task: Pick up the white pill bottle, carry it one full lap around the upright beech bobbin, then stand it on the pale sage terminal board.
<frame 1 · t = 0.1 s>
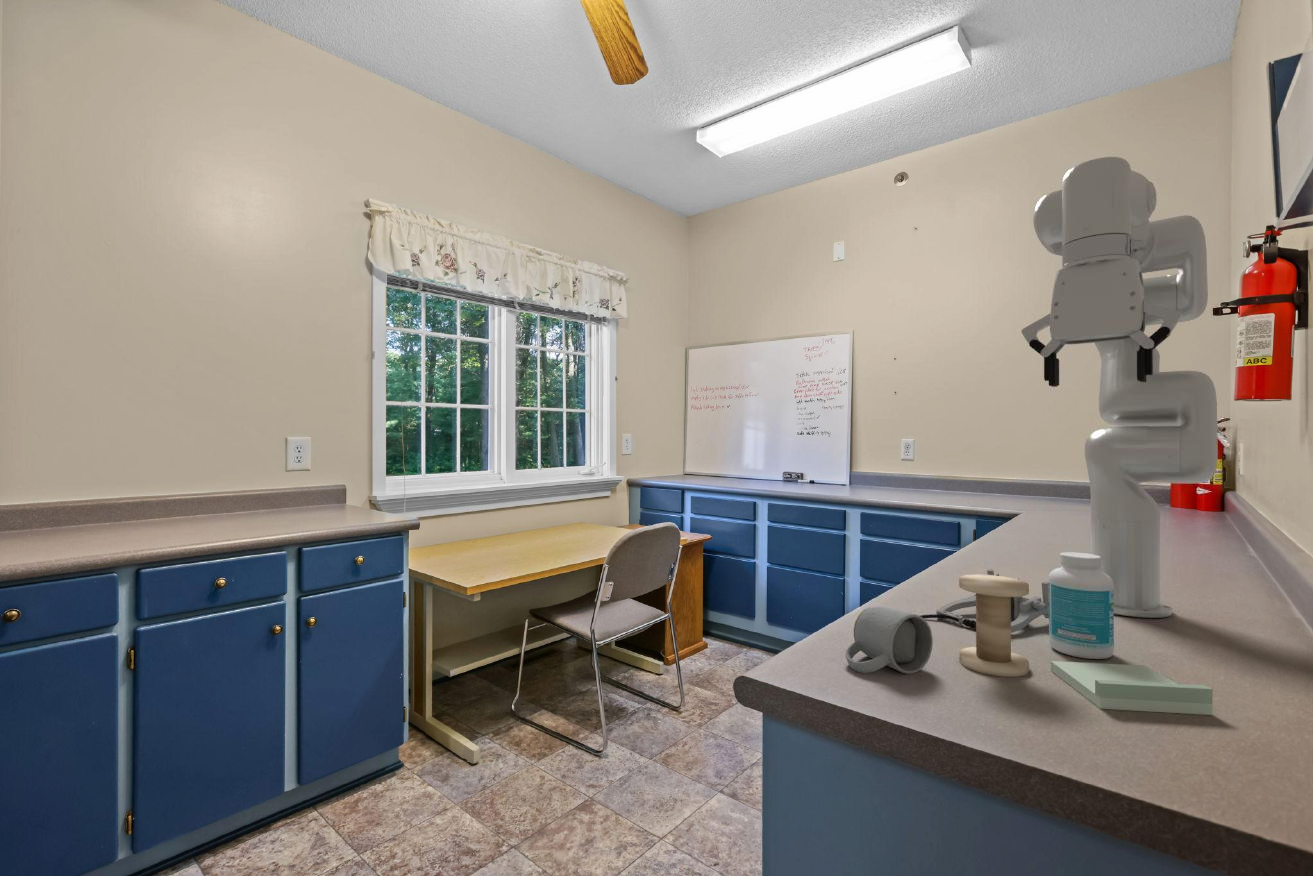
hand: (1096, 383, 81), 37 cm above the counter, fingers open, 9 cm apart
bike brake: (985, 625, 97), on the counter
bobbin: (993, 664, 79), on the counter
ceramic mug: (884, 667, 79), on the counter
terminal board: (1124, 690, 71), on the counter
pill bottle: (1080, 653, 84), on the counter
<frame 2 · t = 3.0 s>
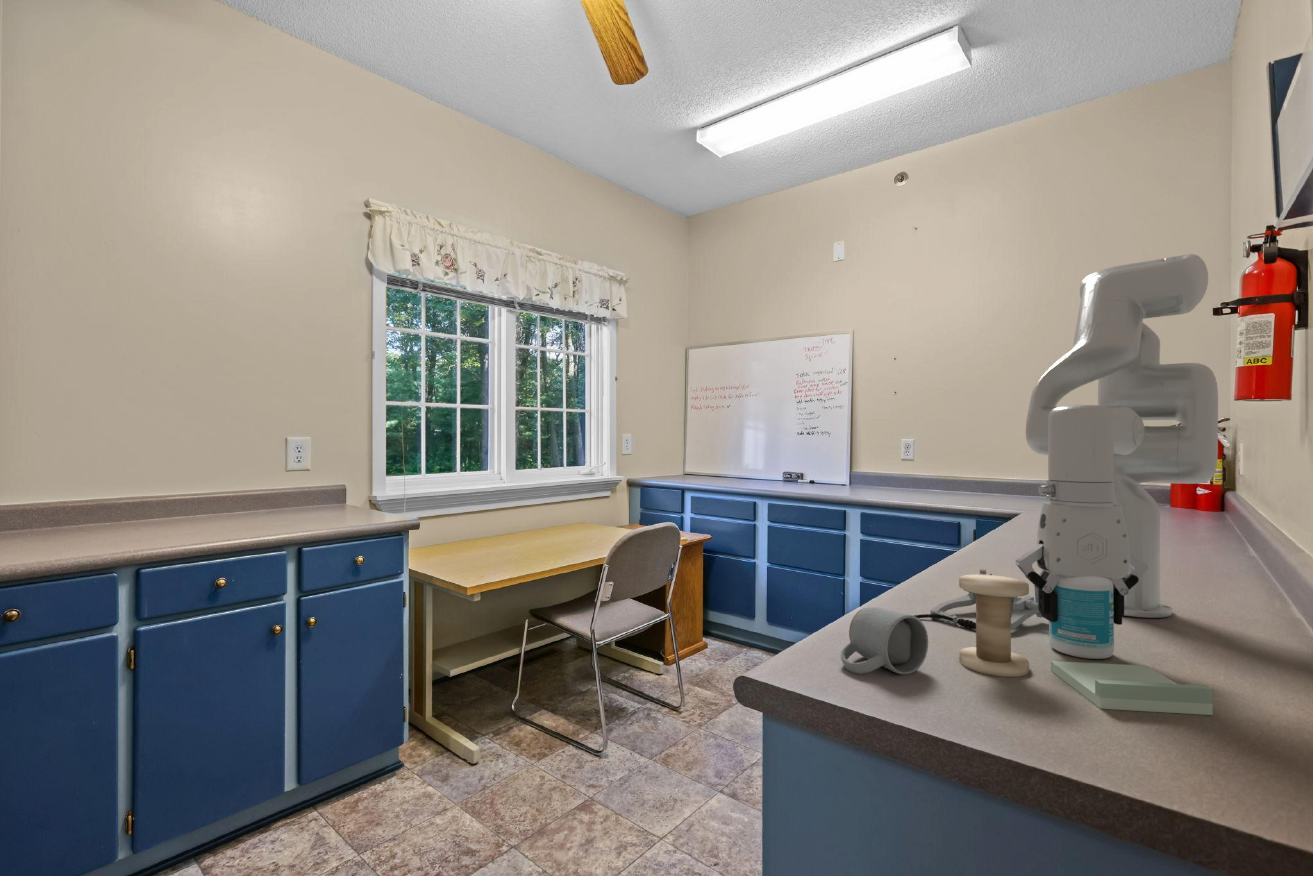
hand: (1080, 619, 84), 4 cm above the counter, fingers closed on pill bottle, 7 cm apart
pill bottle: (1080, 652, 84), on the counter, touching gripper
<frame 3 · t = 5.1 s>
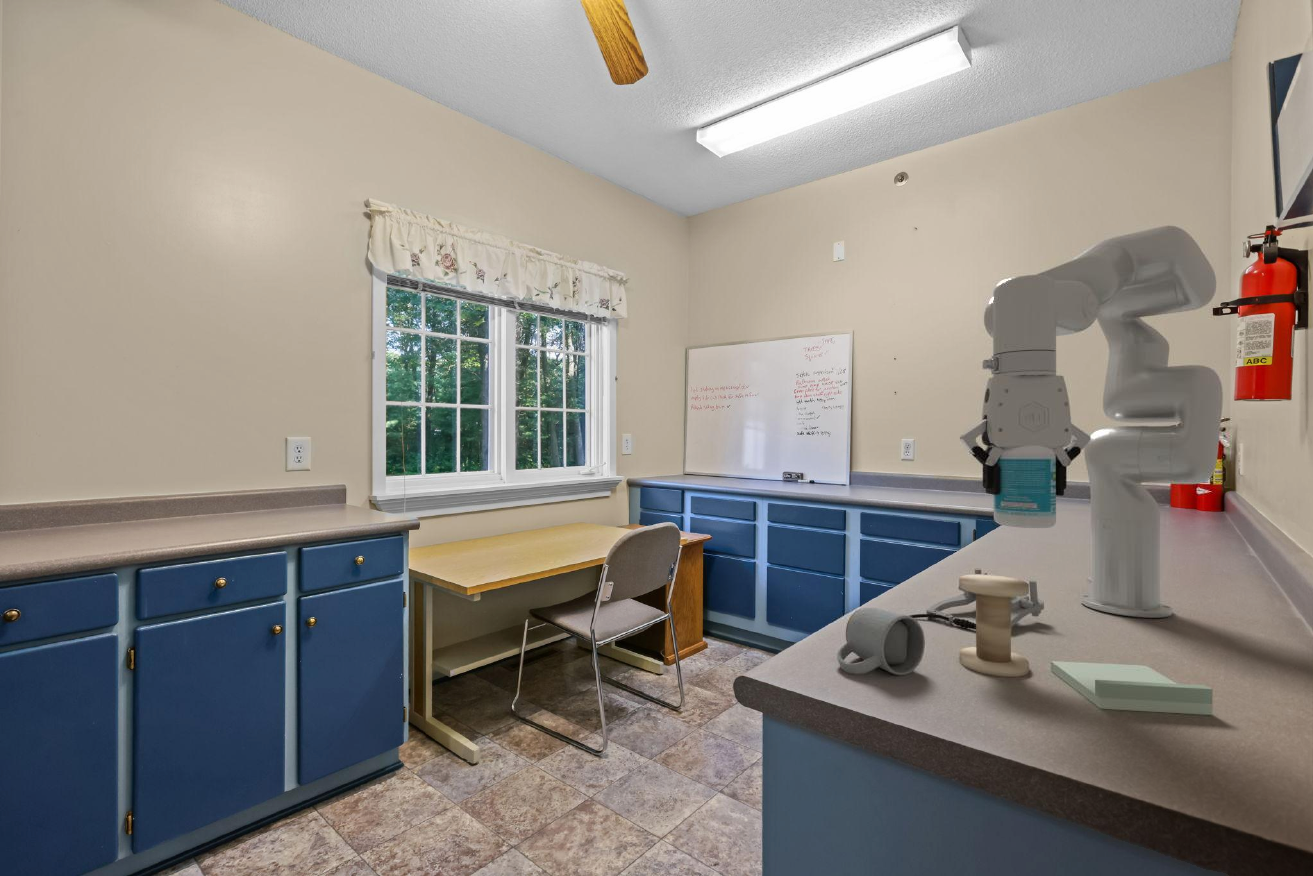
hand: (1023, 493, 84), 22 cm above the counter, fingers closed on pill bottle, 7 cm apart
pill bottle: (1024, 526, 84), point 17 cm above the counter, touching gripper
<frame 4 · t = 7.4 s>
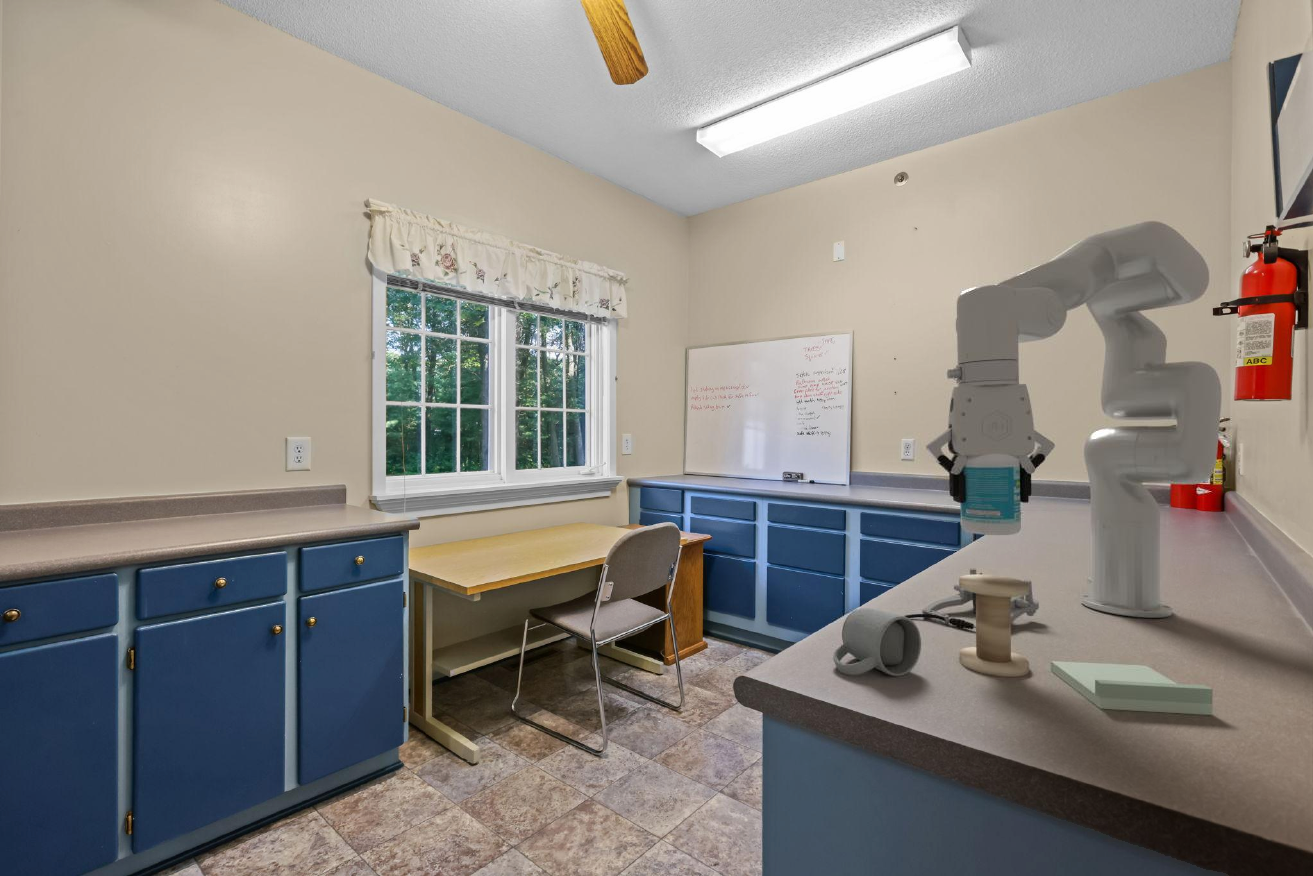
hand: (989, 500, 85), 21 cm above the counter, fingers closed on pill bottle, 7 cm apart
pill bottle: (990, 533, 85), point 16 cm above the counter, touching gripper
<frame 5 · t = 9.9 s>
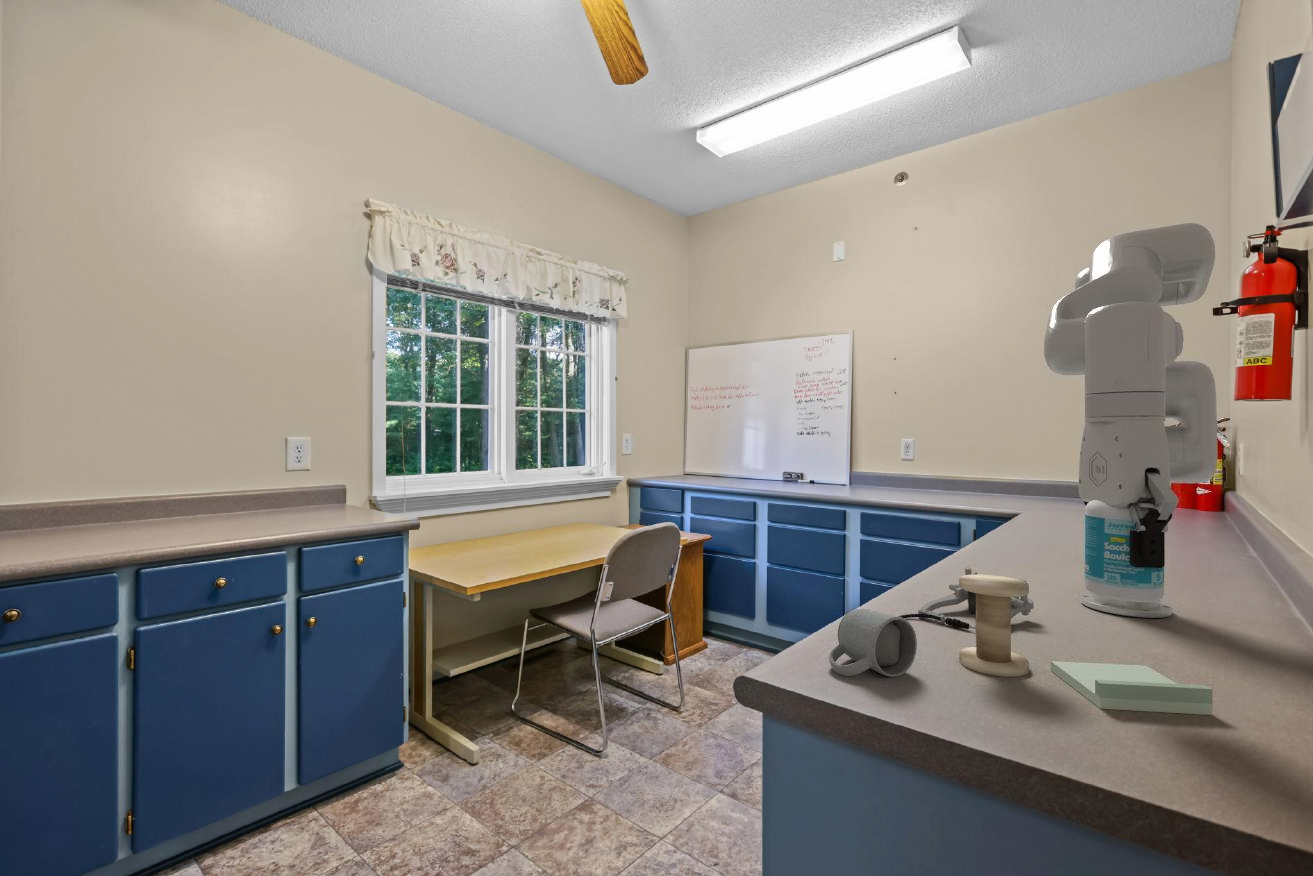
hand: (1124, 558, 71), 16 cm above the counter, fingers closed on pill bottle, 7 cm apart
pill bottle: (1123, 597, 71), point 11 cm above the counter, touching gripper
when the fingers open (7 cm above the counter, at t = 12.0 s): pill bottle drops 1 cm, resting on terminal board.
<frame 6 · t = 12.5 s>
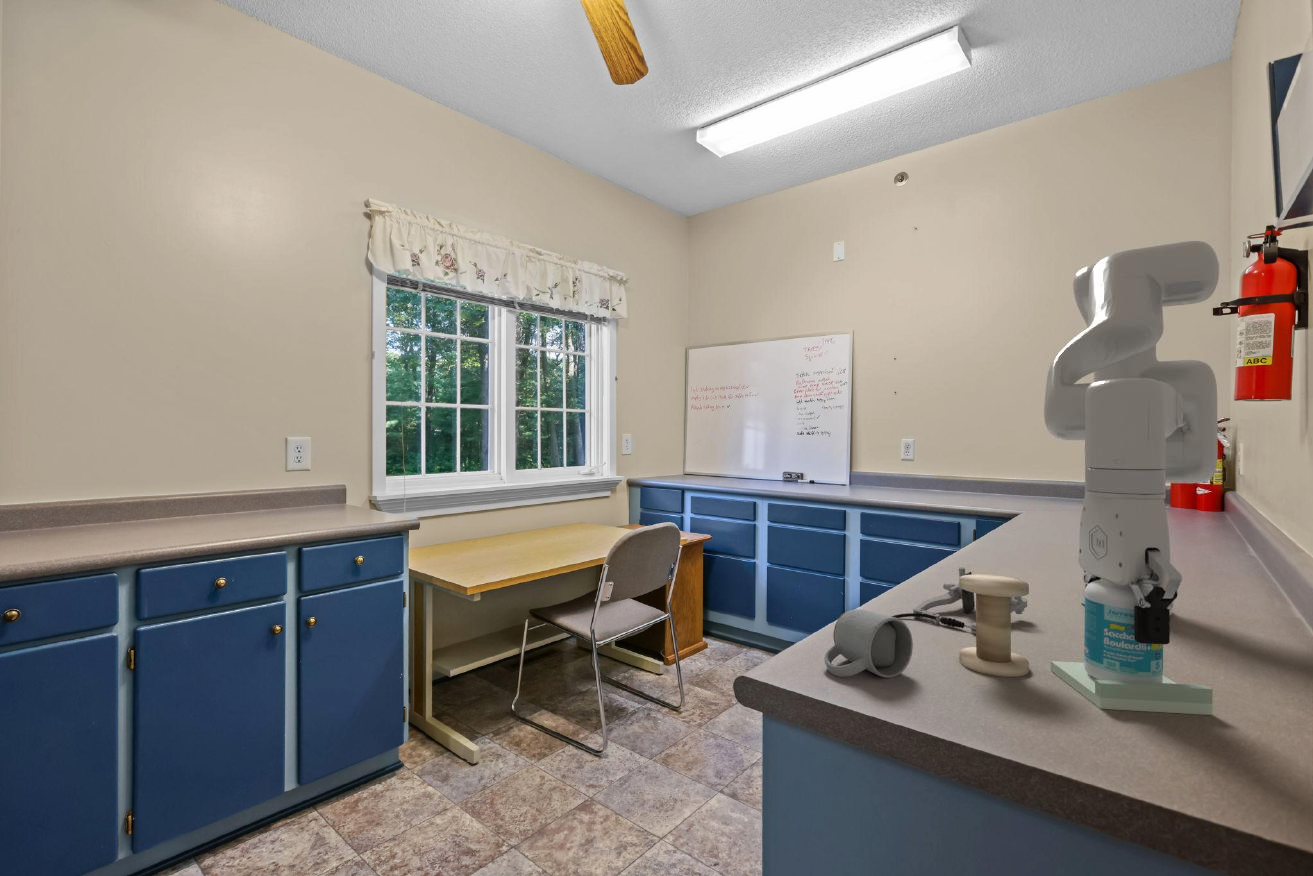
hand: (1124, 628, 71), 7 cm above the counter, fingers open, 9 cm apart
pill bottle: (1122, 681, 72), point 1 cm above the counter, touching terminal board
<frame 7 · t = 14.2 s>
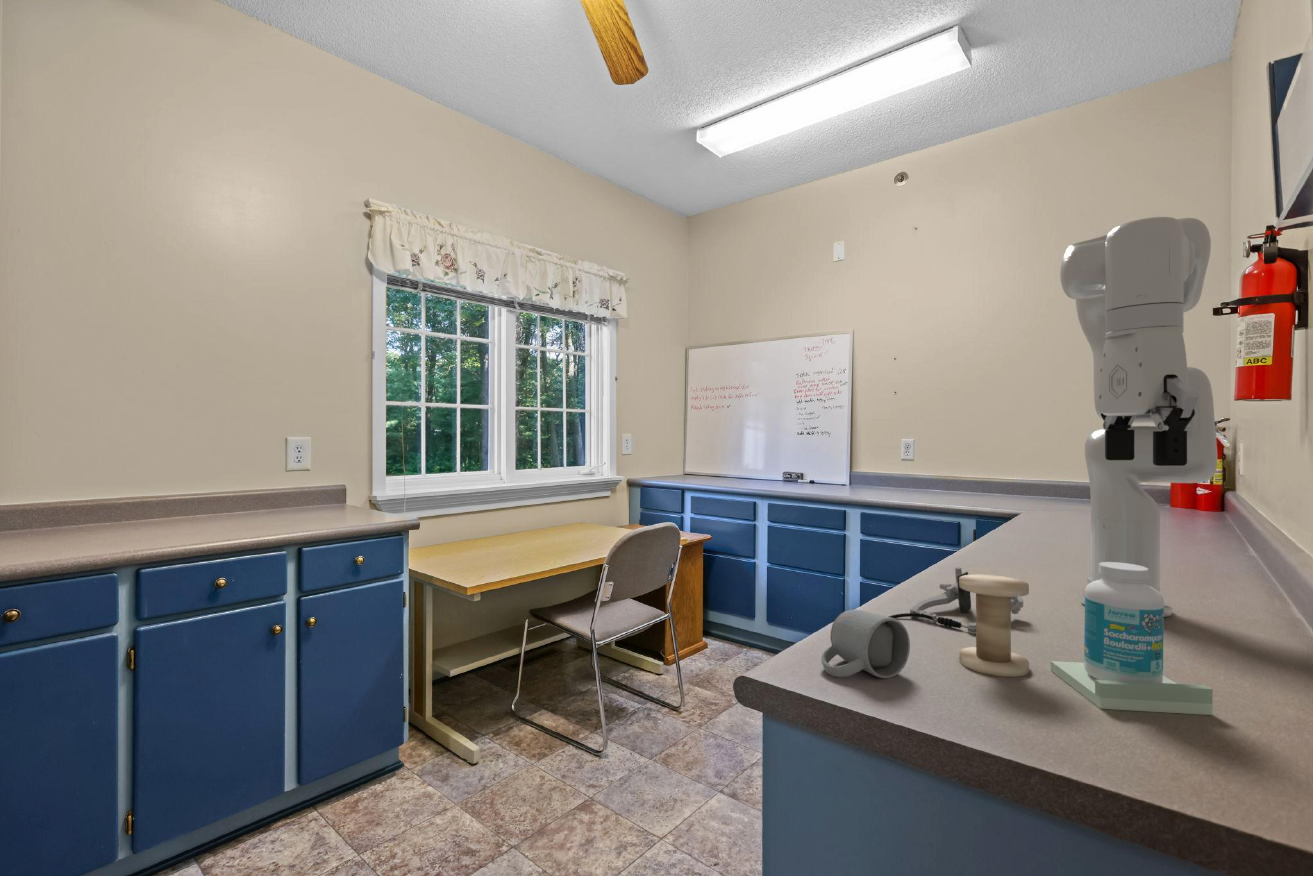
hand: (1143, 462, 75), 27 cm above the counter, fingers open, 9 cm apart
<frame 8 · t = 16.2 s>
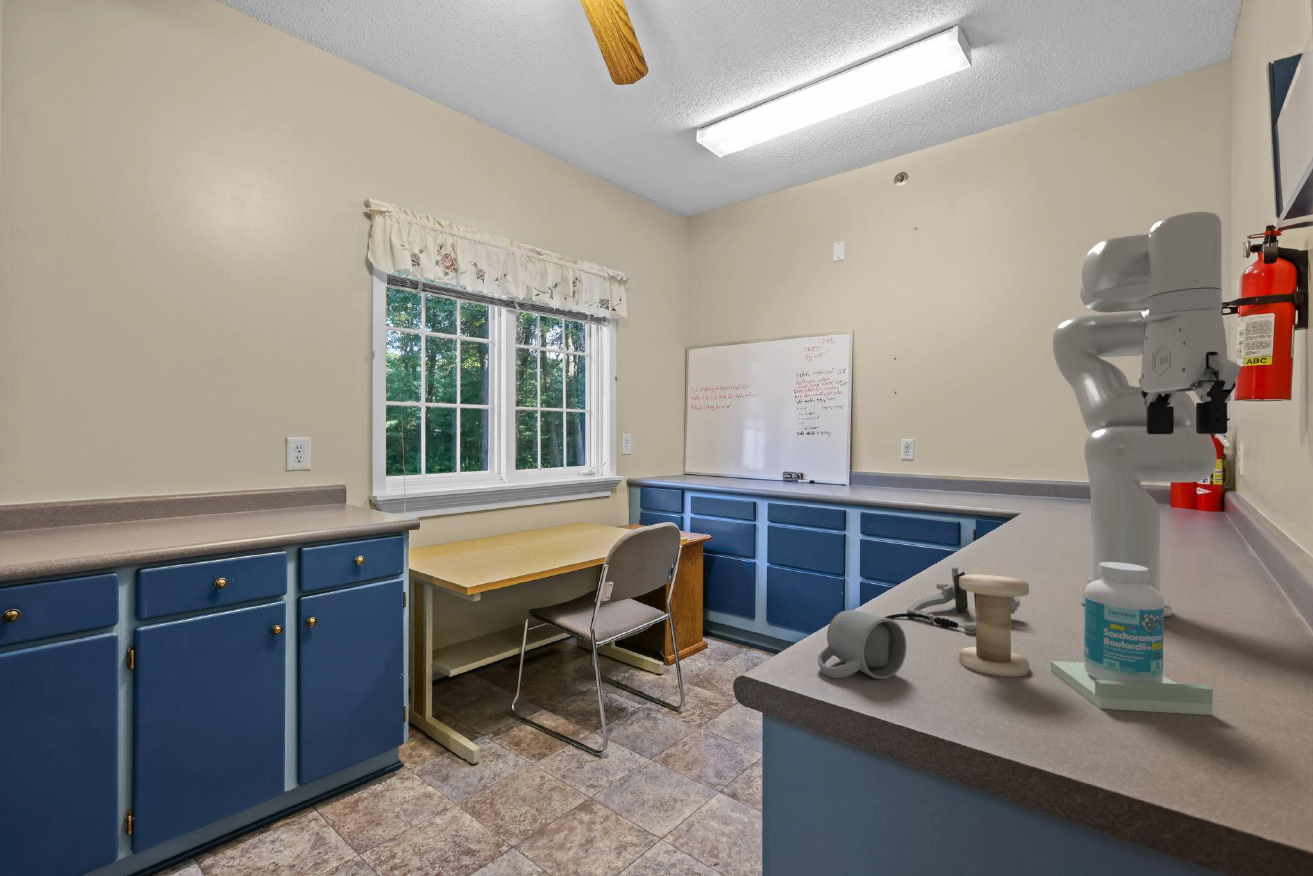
hand: (1184, 433, 82), 30 cm above the counter, fingers open, 9 cm apart
at the end: pill bottle 0.3 cm from the terminal board (horizontally); pill bottle tilted 0°; the gripper is holding nothing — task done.
